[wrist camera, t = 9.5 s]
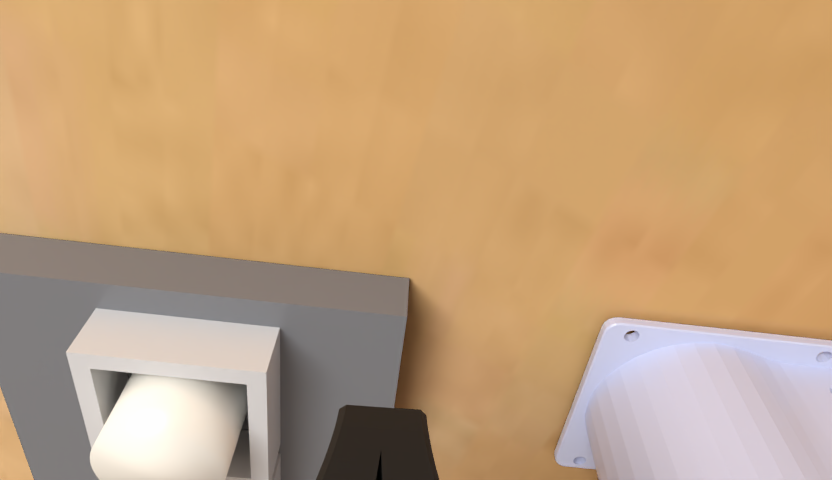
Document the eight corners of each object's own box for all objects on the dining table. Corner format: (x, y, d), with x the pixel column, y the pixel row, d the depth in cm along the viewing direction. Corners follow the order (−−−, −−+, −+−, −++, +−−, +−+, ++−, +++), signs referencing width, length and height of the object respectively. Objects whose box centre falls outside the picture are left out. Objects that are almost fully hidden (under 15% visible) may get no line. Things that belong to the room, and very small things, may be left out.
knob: (250, 348, 21) (220, 434, 18) (253, 427, 23) (227, 515, 20) (128, 335, 21) (78, 420, 18) (143, 416, 23) (101, 503, 20)
